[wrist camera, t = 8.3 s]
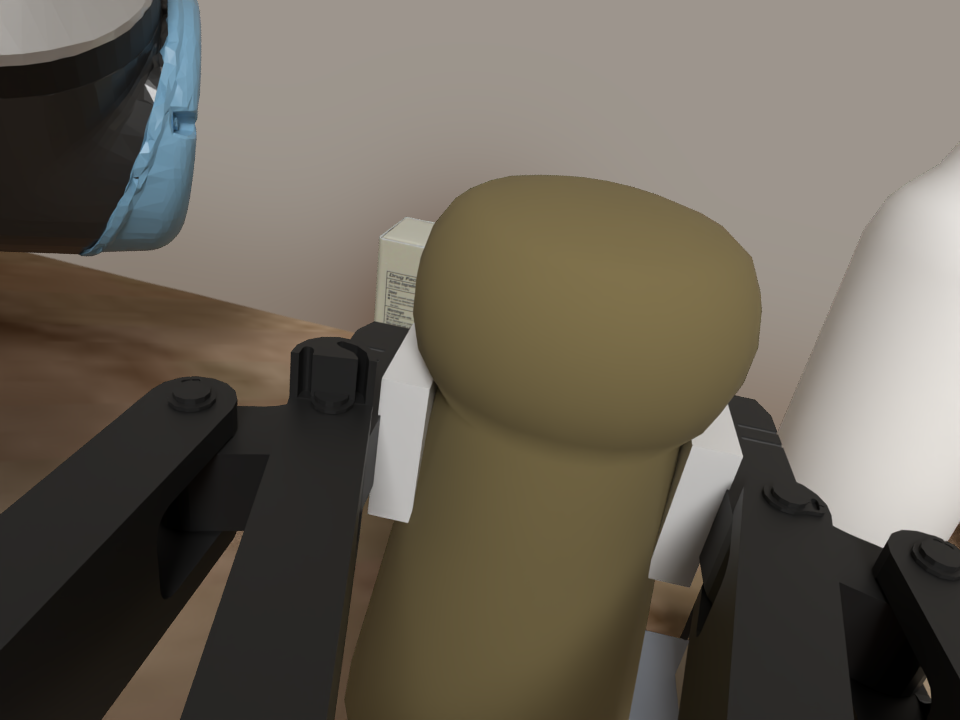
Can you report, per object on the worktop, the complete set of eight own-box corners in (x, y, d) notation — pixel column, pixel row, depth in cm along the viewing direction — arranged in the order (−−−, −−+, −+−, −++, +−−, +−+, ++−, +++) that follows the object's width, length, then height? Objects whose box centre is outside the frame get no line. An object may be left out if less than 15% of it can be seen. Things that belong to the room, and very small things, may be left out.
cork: (343, 858, 12) (414, 256, 7) (345, 587, 17) (387, 123, 12) (669, 831, 14) (934, 302, 8) (581, 585, 19) (710, 164, 14)
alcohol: (838, 650, 33) (1277, -118, 19) (703, 525, 40) (956, -117, 26) (942, 597, 38) (1363, -61, 23) (805, 492, 44) (1071, -73, 30)
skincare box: (481, 420, 46) (515, 236, 40) (464, 458, 42) (499, 261, 36) (385, 395, 46) (404, 211, 41) (360, 430, 43) (377, 233, 37)
